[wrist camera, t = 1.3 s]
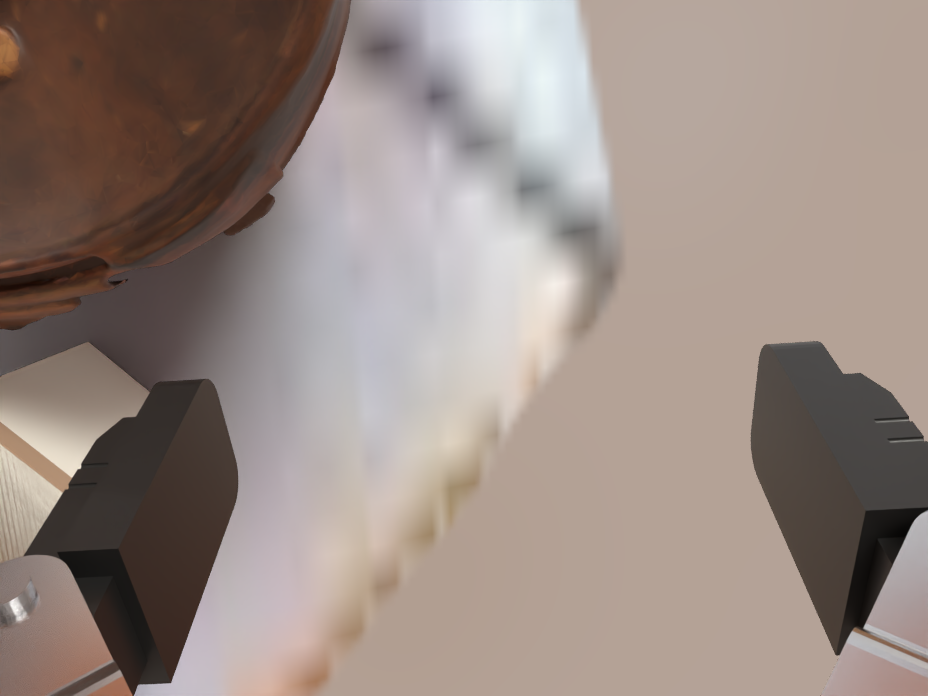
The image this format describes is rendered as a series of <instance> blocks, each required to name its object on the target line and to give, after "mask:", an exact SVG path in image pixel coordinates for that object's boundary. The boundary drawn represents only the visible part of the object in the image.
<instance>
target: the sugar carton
mask: <svg viewBox="0 0 928 696" xmlns="http://www.w3.org/2000/svg"><path fill="white" fill-rule="evenodd" d="M149 393H150V392H149V391H148V390H147V389H145V388H144V387H143V386H142V385H141V384H139V383H138V382H137V381H136V380H134V379H133V378H132V377H131V376H130V375H128V374H127V373H126V372H125V371H123V370H122V369H121V368H120V367H119V366H117V365H116V364H115V363H114V362H112V361H111V360H110V359H109V358H108V357H106V356H105V355H104V354H103V353H101V352H100V351H99V350H98V349H97V348H95V347H94V346H93V345H92V344H90V343H89V342H86V343H83V344H81V345H78V346H76V347H73V348H71V349H68V350H66V351H63V352H60V353H58V354H55V355H53V356H50V357H48V358H45V359H43V360H40V361H38V362H35V363H33V364H30V365H27V366H25V367H22V368H20V369H17V370H15V371H12V372H10V373H7V374H5V375H2V376H0V563H3V562H5V561H8V560H11V559H14V558H18V557H23V556H24V554H25V552H26V551H27V549H28V548H29V546H30V544H31V543H32V541H33V540H34V538H35V536H36V535H37V533H38V532H39V530H40V528H41V527H42V525H43V524H44V522H45V520H46V519H47V517H48V516H49V514H50V512H51V511H52V509H53V508H54V506H55V505H56V503H57V501H58V500H59V498H60V497H61V495H62V493H63V492H64V490H65V489H68V488H69V485H68V484H69V482H70V481H71V479H72V477H73V476H74V474H75V473H76V471H77V469H81V463H82V461H83V460H84V458H85V457H86V455H87V453H88V452H89V450H90V449H91V447H92V445H93V444H94V442H95V441H96V439H98V438H99V437H100V436H101V435H102V434H104V433H105V432H106V431H107V430H109V429H110V428H111V427H112V426H113V425H115V424H116V423H117V422H118V421H120V420H121V419H122V418H123V417H136V415H137V414H138V412H139V410H140V409H141V407H142V405H143V403H144V402H145V400H146V398H147V397H148V395H149Z"/></svg>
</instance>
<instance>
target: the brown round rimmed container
mask: <svg viewBox="0 0 928 696" xmlns="http://www.w3.org/2000/svg"><path fill="white" fill-rule="evenodd" d="M350 3H351V0H0V329H7V330H17V329H21V328H22V327H24V326H26V325H27V324H29V323H32V322H35V321H38V320H40V319H42V318H44V317H46V316H51V315H58V314H62V313H66V312H70V311H72V310H74V309H75V308H76V307H78V306H79V305H80V304H81V301H80V298H79V297H80V296H85V295H90V294H95V293H100V292H104V291H108V290H111V289H113V288H116V287H117V286H119V285H120V284H123V283H125V282H126V281H127V280H128V279H126V280H125V279H124V280H122V281H113V282H108V278H110V277H111V276H113V275H115V274H119V273H122V272H125V271H129V270H134V269H140V268H147V267H154V266H160V265H164V264H167V263H170V262H172V261H174V260H176V259H177V258H179V257H181V256H183V255H184V254H186V253H188V252H190V251H191V250H193V249H195V248H197V247H198V246H200V245H202V244H204V243H205V242H207V241H209V240H211V239H212V238H214V237H215V236H217V235H218V234H220V233H221V232H224V233H225V234H226V235H230V236H231V235H234V234H236V233H238V232H240V231H242V230H243V229H245V228H247V227H249V226H251V225H252V224H253V223H254V222H256V221H257V220H258V219H260V218H262V217H263V216H265V215H266V214H267V213H268V212H269V211H270V209H271V208H272V206H273V204H274V202H275V200H274V197H273V196H272V195H271V194H269V193H268V192H269V191H270V190H271V189H272V187H273V186H274V185H275V184H276V183H277V182H278V181H279V180H281V179H282V177H283V172H282V170H283V169H284V167H285V166H286V164H287V163H288V162H289V161H290V159H291V157H292V156H293V154H294V153H295V152H296V150H297V148H298V146H300V144H301V142H302V140H303V138H304V136H305V134H306V131H307V130H308V128H309V127H310V124H311V123H312V121H313V119H314V117H315V114H316V113H317V111H318V109H319V107H320V105H321V103H322V101H323V98H324V95H325V93H326V90H327V88H328V86H329V84H330V82H331V80H332V78H333V76H334V73H335V69H336V64H337V61H338V57H339V54H340V49H341V45H342V42H343V38H344V35H345V31H346V27H347V23H348V19H349V13H350Z"/></svg>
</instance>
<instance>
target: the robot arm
mask: <svg viewBox="0 0 928 696" xmlns="http://www.w3.org/2000/svg"><path fill="white" fill-rule="evenodd" d="M923 437H924V436H923V435H922V433H921V432H920V431H919V430H918V428H917V427H916V426H915V424H914V423H913V422H910V421H909V416H908V415H907V414H906V412H905V411H904V409H903V408H902V407H901V405H900V404H899V403H898V401H897V400H896V399H895V397H894V396H893V395H892V393H891V392H889V391H888V390H886V389H885V388H883V387H881V386H880V385H878V384H877V383H875V382H874V381H872V380H871V379H869V378H867V377H866V376H864V375H863V374H861V373H855V374H843V373H842V372H841V370H840V369H839V367H838V366H837V364H836V363H835V361H834V360H833V358H832V357H831V356H830V354H829V352H828V351H827V350H826V348H825V347H824V345H823V344H822V343H821V342H818V341H813V342H797V343H781V344H767V345H764V346H763V348H762V350H761V352H760V357H759V364H758V373H757V382H756V391H755V402H754V410H753V419H752V429H751V451H752V458H753V463H754V468H755V471H756V474H757V477H758V479H759V481H760V484H761V486H762V488H763V491H764V493H765V495H766V497H767V499H768V502H769V504H770V506H771V509H772V511H773V513H774V516H775V518H776V520H777V522H778V525H779V527H780V529H781V531H782V534H783V536H784V538H785V541H786V543H787V545H788V548H789V550H790V552H791V554H792V557H793V559H794V561H795V564H796V566H797V568H798V570H799V572H800V575H801V577H802V579H803V581H804V584H805V586H806V589H807V591H808V593H809V595H810V598H811V600H812V602H813V605H814V607H815V609H816V611H817V613H818V616H819V618H820V620H821V623H822V625H823V627H824V629H825V632H826V634H827V636H828V639H829V641H830V643H831V646H832V648H833V650H834V652H835V655H840V656H839V658H838V660H837V662H836V664H835V666H834V668H833V671H832V673H831V675H830V677H829V679H828V681H827V683H826V685H825V687H824V689H823V691H822V693H821V695H820V696H928V442H927V441H925V442H924V438H923ZM68 485H69V488H68V489H65V490H64V492H63V493H62V495H61V497H60V498H59V500H58V501H57V503H56V505H55V506H54V508H53V509H52V511H51V512H50V514H49V516H48V517H47V519H46V520H45V522H44V524H43V525H42V527H41V528H40V530H39V532H38V533H37V535H36V536H35V538H34V540H33V541H32V543H31V544H30V546H29V548H28V549H27V551H26V552H25V554H24V556H23V557H18V558H14V559H11V560H8V561H5V562H3V563H0V696H134V694H135V691H136V689H137V686H138V685H140V684H162V683H171V681H172V679H173V676H174V673H175V670H176V667H177V665H178V662H179V659H180V656H181V654H182V651H183V648H184V645H185V642H186V640H187V637H188V634H189V631H190V628H191V626H192V623H193V620H194V617H195V615H196V612H197V609H198V606H199V603H200V601H201V598H202V595H203V592H204V589H205V587H206V584H207V581H208V578H209V576H210V573H211V570H212V567H213V564H214V562H215V559H216V556H217V553H218V550H219V548H220V545H221V542H222V539H223V537H224V534H225V531H226V528H227V525H228V523H229V520H230V517H231V514H232V511H233V509H234V506H235V503H236V499H237V493H238V470H237V463H236V459H235V455H234V452H233V448H232V444H231V441H230V437H229V434H228V430H227V426H226V423H225V419H224V415H223V412H222V408H221V405H220V401H219V397H218V394H217V391H216V388H215V386H214V384H213V383H212V382H211V381H210V380H209V379H199V380H184V381H168V382H158V383H156V384H155V385H154V387H153V388H152V390H151V391H150V393H149V395H148V397H147V398H146V400H145V402H144V403H143V405H142V407H141V409H140V410H139V412H138V414H137V415H136V417H123V418H122V419H121V420H120V421H118V422H117V423H116V424H115V425H113V426H112V427H111V428H110V429H109V430H107V431H106V432H105V433H104V434H102V435H101V436H100V437H99V438H98V439H96V441H95V442H94V444H93V445H92V447H91V449H90V450H89V452H88V453H87V455H86V457H85V458H84V460H83V461H82V463H81V469H77V471H76V473H75V474H74V476H73V477H72V479H71V481H70V482H69V484H68Z"/></svg>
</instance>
